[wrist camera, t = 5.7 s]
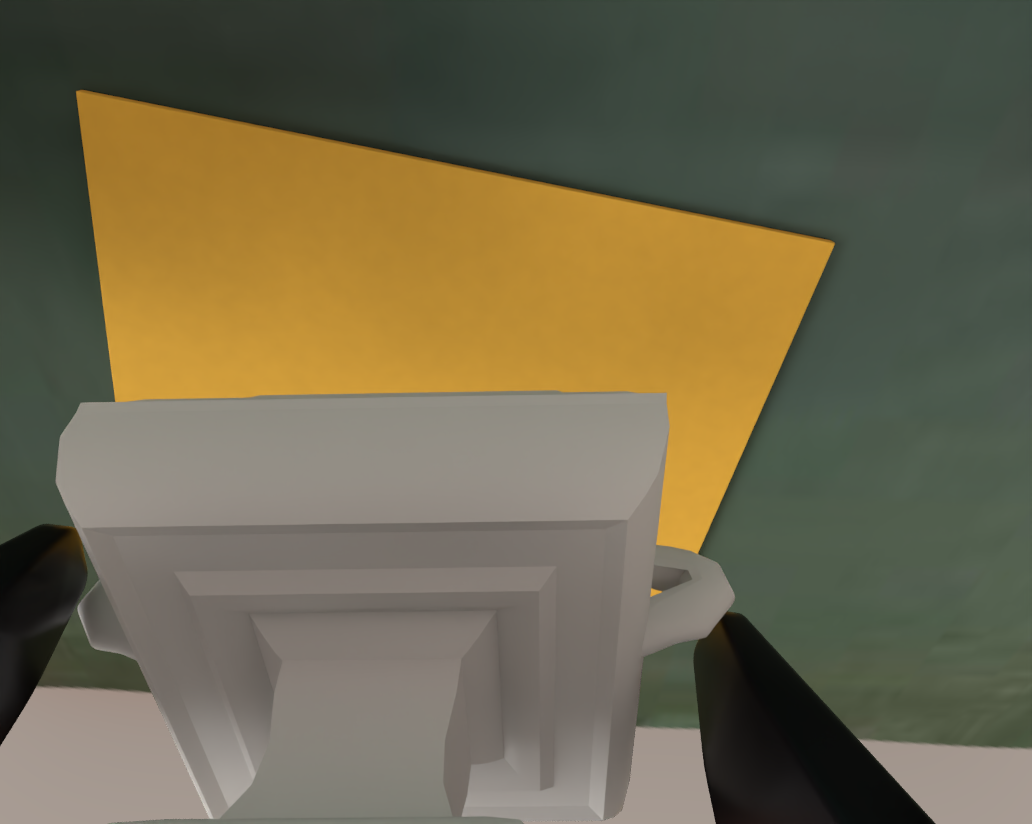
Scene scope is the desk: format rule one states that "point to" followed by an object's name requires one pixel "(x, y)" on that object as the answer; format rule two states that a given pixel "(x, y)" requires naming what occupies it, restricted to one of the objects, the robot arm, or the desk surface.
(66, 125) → the desk surface
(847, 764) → the robot arm
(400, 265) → the cloth
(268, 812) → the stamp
